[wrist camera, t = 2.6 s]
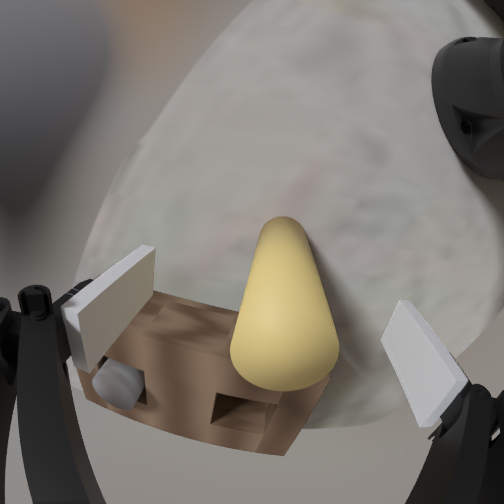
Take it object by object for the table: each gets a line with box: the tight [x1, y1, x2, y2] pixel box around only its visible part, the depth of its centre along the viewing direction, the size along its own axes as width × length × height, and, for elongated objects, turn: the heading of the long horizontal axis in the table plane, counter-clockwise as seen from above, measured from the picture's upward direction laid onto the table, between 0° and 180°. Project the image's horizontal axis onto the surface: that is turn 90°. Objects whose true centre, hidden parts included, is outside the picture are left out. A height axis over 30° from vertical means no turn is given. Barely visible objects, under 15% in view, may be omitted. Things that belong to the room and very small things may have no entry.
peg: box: [230, 217, 340, 391], centre depth 17 cm, size 4×4×15 cm
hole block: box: [76, 275, 331, 456], centre depth 24 cm, size 24×14×9 cm, turn 78°
